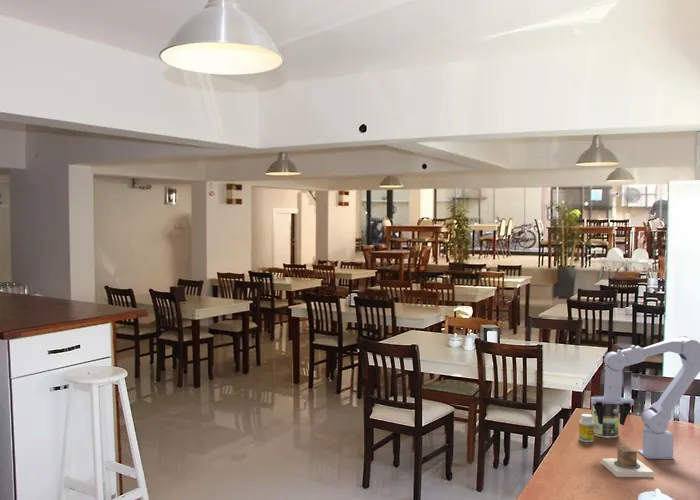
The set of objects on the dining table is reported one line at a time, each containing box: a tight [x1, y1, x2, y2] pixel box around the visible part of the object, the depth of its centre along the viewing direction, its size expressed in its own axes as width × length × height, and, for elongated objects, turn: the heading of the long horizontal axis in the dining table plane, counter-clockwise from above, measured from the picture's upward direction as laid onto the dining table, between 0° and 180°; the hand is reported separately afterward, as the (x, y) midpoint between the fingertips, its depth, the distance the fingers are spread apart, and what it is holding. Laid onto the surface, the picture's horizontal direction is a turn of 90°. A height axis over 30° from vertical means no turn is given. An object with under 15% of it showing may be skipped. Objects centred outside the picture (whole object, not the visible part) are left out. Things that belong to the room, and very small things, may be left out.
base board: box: [601, 457, 655, 478], centre depth 216 cm, size 12×12×2 cm
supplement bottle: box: [578, 413, 595, 443], centre depth 246 cm, size 5×5×10 cm
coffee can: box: [590, 394, 620, 439], centre depth 254 cm, size 10×10×14 cm
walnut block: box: [616, 446, 638, 467], centre depth 216 cm, size 4×4×5 cm
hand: (611, 423), depth 232 cm, fingers open, 7 cm apart
